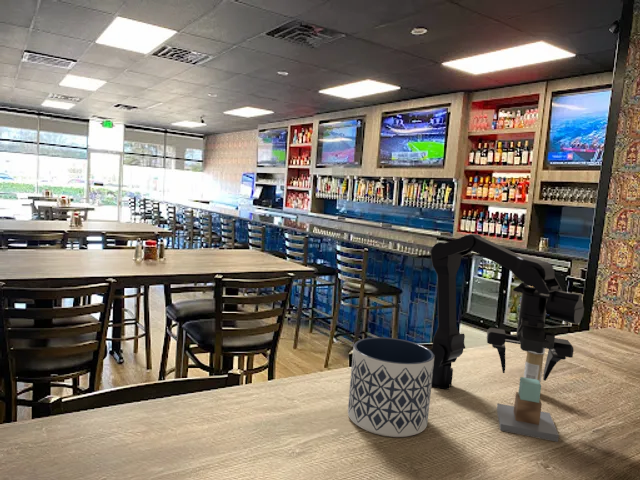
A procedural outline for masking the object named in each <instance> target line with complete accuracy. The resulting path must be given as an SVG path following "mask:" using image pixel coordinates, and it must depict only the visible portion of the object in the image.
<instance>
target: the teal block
mask: <svg viewBox="0 0 640 480" xmlns="http://www.w3.org/2000/svg"><path fill="white" fill-rule="evenodd" d="M518 385H519V386H518V387H519V388H518V391H517V392H518V393H519V396H520V400H526V401H532V402H537V403H539V400H540V401H541V399H540V398H541V390H542V385H541V382H539V380H536V379H530V378H524V376H520V378H519V384H518Z"/></svg>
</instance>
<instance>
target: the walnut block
mask: <svg viewBox="0 0 640 480" xmlns="http://www.w3.org/2000/svg"><path fill="white" fill-rule="evenodd" d="M518 392H519V391H515V395H514V396H515V397H514V404H513V406H514V416H515V420H516V421H521V422H526V423H531V424H536V425H539V421H540V414H541V412H542V404H543V403H542V402H541V399H540V400H539V403H537V402H532V401H526V400H520V396H519V393H518Z"/></svg>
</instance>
